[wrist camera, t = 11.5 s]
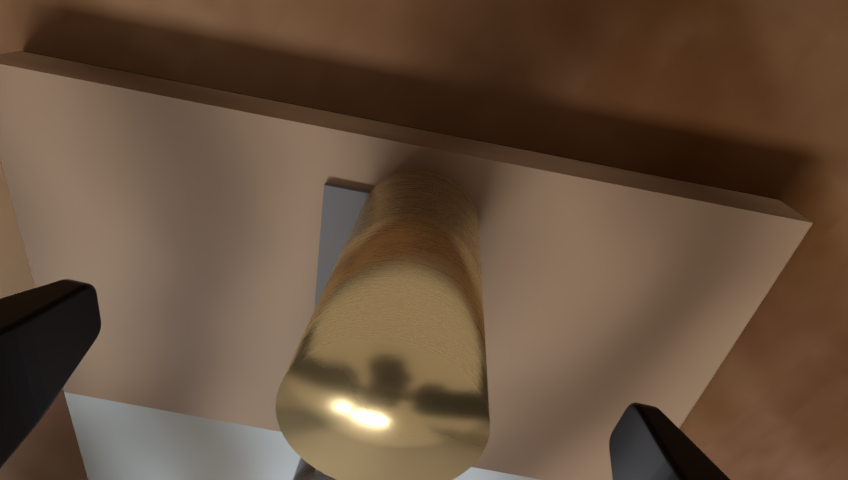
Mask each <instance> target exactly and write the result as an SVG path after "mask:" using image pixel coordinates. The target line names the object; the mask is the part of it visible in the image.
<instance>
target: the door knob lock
mask: <svg viewBox="0 0 848 480" xmlns="http://www.w3.org/2000/svg"><path fill="white" fill-rule="evenodd" d="M275 409H276V418H277V421H278V424H279V427H280V430H281V432H282V434H283V436H284V437H285V439H286V440H287V442H288V443H289V445H290V446H291V447H292V448H293V450H294V451H295V452H296V453H297V454H298V455H299V456H300V460H299V463H298V466H297V469H296V472H295V475H294V478H293V480H453V479H455V478H457V477H458V476H460V475H461V474H463V473H464V472H466V471H467V470H468V469H469V468H470V467H472V466H473V465H474V463H475V462H476V461H477V460H478V459H479V458H480V456H481V455H482V453H483V451H484V450H485V447H486V445H487V442H488V438H489V433H490V414H489V396H488V379H487V361H486V344H485V326H484V309H483V291H482V273H481V256H480V238H479V222H478V215H477V212H476V209H475V206H474V204H473V202H472V200H471V199H470V197H469V196H468V194H467V193H466V192H465V191H464V190H463V189H462V188H461V187H460V186H459V185H458V184H456V183H455V182H453V181H452V180H450V179H449V178H447V177H445V176H442V175H440V174H437V173H433V172H429V171H420V170H415V171H405V172H401V173H397V174H394V175H392V176H390V177H387V178H386V179H384V180H383V181H381V182H380V183H379V184H377V185H376V186H375V187H374V188H373V189H372V190H371V192H370V193H369V194H368V196H367V197H366V199H365V201H364V204H363V206H362V208H361V210H360V212H359V214H358V217H357V219H356V221H355V223H354V225H353V227H352V230H351V232H350V234H349V236H348V238H347V241H346V243H345V245H344V247H343V249H342V251H341V254H340V256H339V258H338V260H337V262H336V264H335V267H334V269H333V271H332V273H331V275H330V278H329V280H328V282H327V284H326V286H325V288H324V291H323V293H322V295H321V297H320V299H319V301H318V304H317V306H316V308H315V310H314V312H313V315H312V317H311V319H310V321H309V323H308V325H307V328H306V330H305V332H304V334H303V336H302V338H301V341H300V343H299V345H298V347H297V349H296V352H295V354H294V356H293V358H292V360H291V362H290V365H289V367H288V369H287V371H286V373H285V375H284V378H283V380H282V382H281V384H280V386H279V389H278V392H277V396H276V405H275Z"/></svg>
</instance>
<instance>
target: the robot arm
mask: <svg viewBox="0 0 848 480" xmlns="http://www.w3.org/2000/svg"><path fill="white" fill-rule="evenodd" d="M100 329H101V317H100V310H99V304H98V298H97V292H96V289H95V288H94V286H93V285H91V284H89V283H85V282H80V281H76V280H71V279H63V280H59V281H56V282H53V283H50V284H46V285H43V286H40V287H37V288H34V289H30V290H27V291H24V292H21V293H18V294H14V295H11V296H8V297H5V298H1V299H0V468H1V467H2V466H3V464H4V463H5V462H6V461H7V460H8V458H9V457H10V456H11V455H12V454H13V452H14V451H15V450H16V449H17V448H18V447H19V445H20V444H21V443H22V442H23V441H24V439H25V438H26V437H27V436H28V435H29V433H30V432H31V431H32V430H33V428H34V427H35V426H36V425H37V423H38V422H39V421H40V420H41V418H42V417H43V415H44V414H45V413H46V411H47V410H48V409H49V407H50V406H51V404H52V403H53V401H54V400H55V399H56V397H57V396H58V394H59V393H60V391H61V390H62V388H63V387H64V385H65V384H66V382H67V381H68V380H69V378H70V377H71V375H72V374H73V372H74V371H75V369H76V368H77V366H78V365H79V364H80V362H81V361H82V359H83V358H84V356H85V355H86V353H87V352H88V350H89V349H90V347H91V346H92V345H93V343H94V342H95V340H96V339H97V337H98V335H99V333H100ZM609 451H610V460H611V469H612V478H613V480H730V479H729V478H728V477H727V476H726V475H725V474H724V473H723V472H722V471H721V470H720V469H719V468H718V467H717V466H716V465H715V464H714V463H713V462H712V461H711V460H710V459H709V458H708V457H707V456H706V455H705V454H704V453H703V452H702V451H701V450H700V449H699V448H698V447H697V446H696V445H695V444H694V443H693V442H692V441H691V440H690V439H689V438H688V437H687V436H686V435H685V434H684V433H683V432H682V431H681V430H680V429H679V428H678V427H677V426H676V425H675V424H674V423H673V422H672V421H671V420H670V419H669V418H668V417H667V416H666V415H665V414H664V413H663V412H662V411H661V410H660V409H658V408H657V407H654V406H651V405H646V404H641V403H631V404H630V405H628V407H627V408H626V410H625V411H624V413H623V415H622V416H621V418H620V420H619V421H618V423H617V425H616V426H615V428H614V429H613V431H612V433H611V436H610V440H609Z"/></svg>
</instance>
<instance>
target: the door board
mask: <svg viewBox="0 0 848 480" xmlns="http://www.w3.org/2000/svg"><path fill="white" fill-rule="evenodd" d="M0 162H1V165H2V169H3V173H4V176H5V180H6V184H7V187H8V191H9V194H10V198H11V202H12V205H13V209H14V213H15V216H16V220H17V223H18V227H19V231H20V234H21V238H22V242H23V245H24V249H25V252H26V256H27V260H28V263H29V267H30V271H31V274H32V278H33V282H34V285H35V288H37V287H40V286H43V285H46V284H50V283H53V282H56V281H59V280H63V279H71V280H76V281H80V282H85V283H89V284H91V285H93V286H94V288H95V289H96V292H97V298H98V304H99V310H100V317H101V329H100V333H99V335H98V337H97V339H96V340H95V342H94V343H93V345H92V346H91V347H90V349H89V350H88V352H87V353H86V355H85V356H84V358H83V359H82V361H81V362H80V364H79V365H78V366H77V368H76V369H75V371H74V372H73V374H72V375H71V377H70V378H69V380H68V381H67V382H66V384H65V385H64V387H63V390H64V394H65V398H66V401H67V405H68V409H69V412H70V416H71V419H72V423H73V427H74V430H75V434H76V438H77V441H78V445H79V448H80V452H81V456H82V459H83V463H84V467H85V470H86V474H87V478H88V480H293V478H294V475H295V472H296V469H297V466H298V463H299V460H300V456H299V455H298V454H297V453H296V452H295V451H294V450H293V448H292V447H291V446H290V445H289V443H288V442H287V440H286V439H285V437H284V436H283V434H282V432H281V430H280V427H279V424H278V421H277V418H276V409H275V405H276V396H277V392H278V389H279V386H280V384H281V382H282V380H283V378H284V375H285V373H286V371H287V369H288V367H289V365H290V362H291V360H292V358H293V356H294V354H295V352H296V349H297V347H298V345H299V343H300V341H301V338H302V336H303V334H304V332H305V330H306V328H307V325H308V323H309V321H310V319H311V317H312V315H313V312H314V310H315V308H316V306H317V304H318V301H319V299H320V297H321V295H322V293H323V291H324V288H325V286H326V284H327V282H328V280H329V278H330V275H331V273H332V271H333V269H334V267H335V264H336V262H337V260H338V258H339V256H340V254H341V251H342V249H343V247H344V245H345V243H346V241H347V238H348V236H349V234H350V232H351V230H352V227H353V225H354V223H355V221H356V219H357V217H358V214H359V212H360V210H361V208H362V206H363V204H364V201H365V199H366V197H367V196H368V194H369V193H370V192H371V190H372V189H373V188H374V187H375V186H376V185H377V184H379V183H380V182H381V181H383V180H384V179H386V178H387V177H390V176H392V175H394V174H397V173H401V172H405V171H415V170H420V171H429V172H433V173H437V174H440V175H442V176H445V177H447V178H449V179H450V180H452V181H453V182H455V183H456V184H458V185H459V186H460V187H461V188H462V189H463V190H464V191H465V192H466V193H467V194H468V196H469V197H470V199H471V200H472V202H473V204H474V206H475V209H476V212H477V215H478V222H479V238H480V256H481V273H482V291H483V309H484V326H485V344H486V361H487V379H488V396H489V414H490V433H489V438H488V442H487V445H486V447H485V450H484V451H483V453H482V455H481V456H480V458H479V459H478V460H477V461H476V462H475V463H474V465H473V466H472V467H470V468H469V469H468V470H467V471H466V472H464V473H463V474H461V475H460V476H458V477H457V478H455V479H453V480H613V478H612V469H611V460H610V451H609V440H610V436H611V433H612V431H613V429H614V428H615V426H616V425H617V423H618V421H619V420H620V418H621V416H622V415H623V413H624V411H625V410H626V408H627V407H628V405H630V404H631V403H641V404H646V405H651V406H654V407H657V408H658V409H660V410H661V411H662V412H663V413H664V414H665V415H666V416H667V417H668V418H669V419H670V420H671V421H672V422H673V423H674V424H675V425H676V426H677V427H678V428H680V426H681V425H682V423H683V422H684V420H685V419H686V417H687V416H688V414H689V412H690V411H691V409H692V408H693V406H694V405H695V403H696V402H697V400H698V399H699V397H700V396H701V394H702V392H703V391H704V389H705V388H706V386H707V385H708V383H709V382H710V380H711V379H712V377H713V376H714V374H715V373H716V371H717V369H718V368H719V366H720V365H721V363H722V362H723V360H724V359H725V357H726V356H727V354H728V353H729V351H730V349H731V348H732V346H733V345H734V343H735V342H736V340H737V339H738V337H739V336H740V334H741V333H742V331H743V329H744V328H745V326H746V325H747V323H748V322H749V320H750V319H751V317H752V316H753V314H754V313H755V311H756V310H757V308H758V306H759V305H760V303H761V302H762V300H763V299H764V297H765V296H766V294H767V293H768V291H769V290H770V288H771V286H772V285H773V283H774V282H775V280H776V279H777V277H778V276H779V274H780V273H781V271H782V270H783V268H784V267H785V265H786V263H787V262H788V260H789V259H790V257H791V256H792V254H793V253H794V251H795V250H796V248H797V247H798V245H799V243H800V242H801V240H802V239H803V237H804V236H805V234H806V233H807V231H808V230H809V228H810V227H811V225H812V224H813V223H812V222H811V221H809V220H808V219H806V218H805V217H803V216H802V215H801V214H799V213H798V212H796V211H795V210H793V209H792V208H790V207H789V206H788V205H786V204H785V203H783V202H782V201H780V200H777V199H772V198H767V197H762V196H757V195H752V194H747V193H742V192H737V191H732V190H726V189H721V188H716V187H711V186H706V185H701V184H696V183H691V182H686V181H681V180H675V179H670V178H665V177H660V176H655V175H650V174H645V173H640V172H635V171H630V170H624V169H619V168H614V167H609V166H604V165H599V164H594V163H589V162H584V161H579V160H574V159H568V158H563V157H558V156H553V155H548V154H543V153H538V152H533V151H528V150H523V149H517V148H512V147H507V146H502V145H497V144H492V143H487V142H482V141H477V140H472V139H466V138H461V137H456V136H451V135H446V134H441V133H436V132H431V131H426V130H421V129H416V128H410V127H405V126H400V125H395V124H390V123H385V122H380V121H375V120H370V119H365V118H359V117H354V116H349V115H344V114H339V113H334V112H329V111H324V110H319V109H314V108H308V107H303V106H298V105H293V104H288V103H283V102H278V101H273V100H268V99H263V98H258V97H252V96H247V95H242V94H237V93H232V92H227V91H222V90H217V89H212V88H207V87H201V86H196V85H191V84H186V83H181V82H176V81H171V80H166V79H161V78H156V77H150V76H145V75H140V74H135V73H130V72H125V71H120V70H115V69H110V68H105V67H99V66H94V65H89V64H84V63H79V62H74V61H69V60H64V59H59V58H54V57H49V56H43V55H38V54H33V53H28V52H23V51H18V52H12V53H5V54H0Z"/></svg>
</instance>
